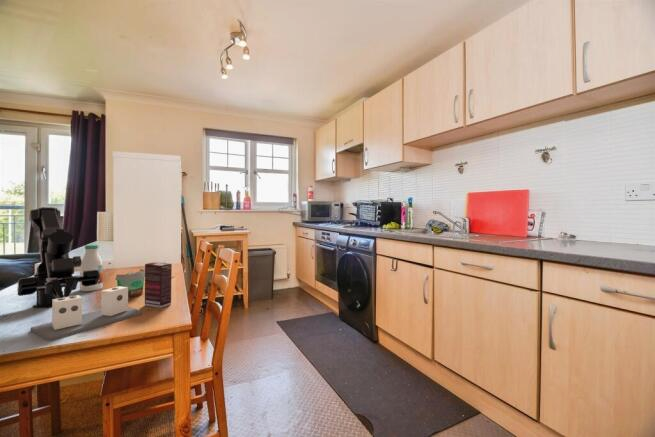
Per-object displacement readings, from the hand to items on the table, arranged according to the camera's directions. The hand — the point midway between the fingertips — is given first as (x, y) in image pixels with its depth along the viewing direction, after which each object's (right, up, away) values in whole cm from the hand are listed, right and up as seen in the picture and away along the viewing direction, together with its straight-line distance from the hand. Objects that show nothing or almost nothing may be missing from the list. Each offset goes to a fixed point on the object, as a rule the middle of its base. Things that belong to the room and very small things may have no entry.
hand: (64, 304), depth 86 cm
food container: (0, -6, +31) cm, 32 cm away
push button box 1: (+9, -5, +9) cm, 14 cm away
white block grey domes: (+3, -5, -2) cm, 7 cm away
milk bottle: (-25, -6, +39) cm, 47 cm away
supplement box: (+16, -7, +21) cm, 27 cm away
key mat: (+5, -7, +4) cm, 9 cm away
